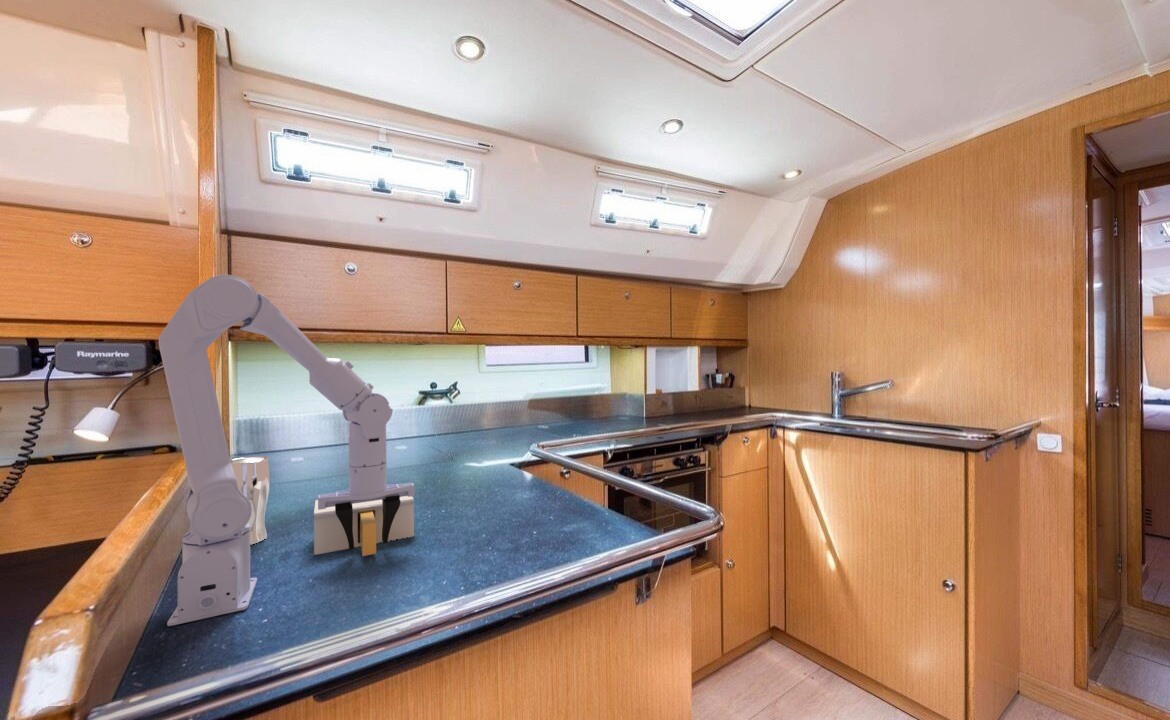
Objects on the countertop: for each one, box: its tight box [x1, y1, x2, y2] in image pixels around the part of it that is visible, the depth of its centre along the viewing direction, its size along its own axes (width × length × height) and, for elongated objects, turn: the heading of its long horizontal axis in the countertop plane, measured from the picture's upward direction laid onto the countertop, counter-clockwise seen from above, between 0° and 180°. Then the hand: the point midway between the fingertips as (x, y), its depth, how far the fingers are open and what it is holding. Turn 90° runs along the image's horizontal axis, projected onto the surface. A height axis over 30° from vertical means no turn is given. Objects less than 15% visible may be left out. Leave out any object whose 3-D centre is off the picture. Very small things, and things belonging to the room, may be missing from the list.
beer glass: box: [230, 455, 271, 546], centre depth 83 cm, size 7×7×15 cm
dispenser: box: [313, 496, 415, 556], centre depth 84 cm, size 10×16×7 cm, turn 119°
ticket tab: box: [358, 510, 377, 557], centre depth 80 cm, size 14×2×5 cm, turn 29°
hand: (368, 544), depth 76 cm, fingers open, 4 cm apart
